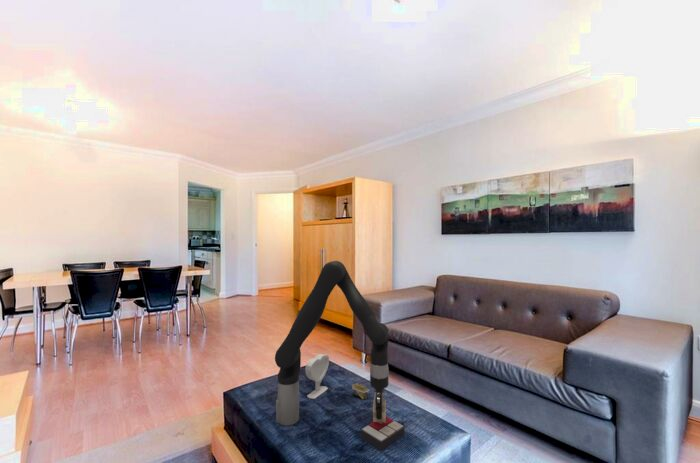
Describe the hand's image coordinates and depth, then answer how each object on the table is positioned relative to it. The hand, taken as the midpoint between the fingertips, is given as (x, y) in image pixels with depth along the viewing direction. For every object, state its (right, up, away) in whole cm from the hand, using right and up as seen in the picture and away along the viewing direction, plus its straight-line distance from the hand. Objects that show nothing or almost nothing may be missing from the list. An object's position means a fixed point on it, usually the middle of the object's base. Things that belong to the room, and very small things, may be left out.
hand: (379, 414), depth 129 cm
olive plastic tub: (-7, -8, +27) cm, 29 cm away
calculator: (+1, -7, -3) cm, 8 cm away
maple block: (0, -1, 0) cm, 1 cm away
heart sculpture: (-29, -7, +32) cm, 44 cm away
